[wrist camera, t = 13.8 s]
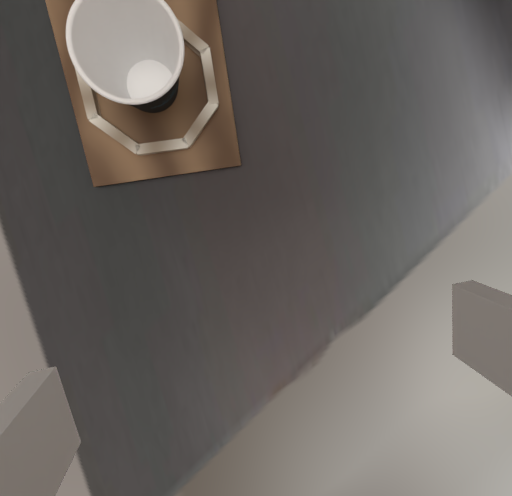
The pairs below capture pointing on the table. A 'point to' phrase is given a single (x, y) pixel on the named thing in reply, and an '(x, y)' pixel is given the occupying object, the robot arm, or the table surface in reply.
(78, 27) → the dixie cup
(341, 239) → the table surface
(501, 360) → the robot arm
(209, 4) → the board
